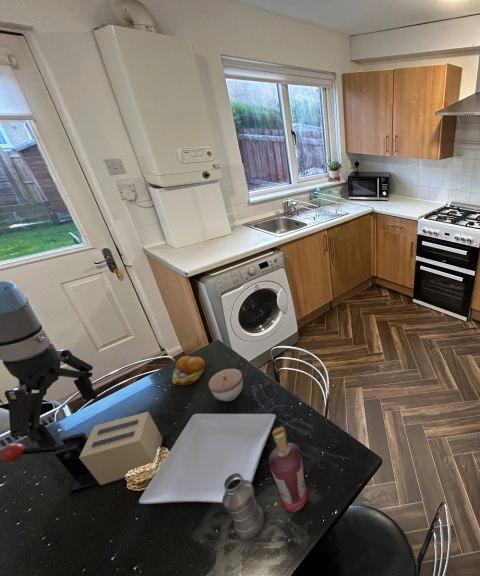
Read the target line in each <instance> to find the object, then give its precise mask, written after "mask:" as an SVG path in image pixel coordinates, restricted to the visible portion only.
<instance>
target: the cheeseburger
mask: <svg viewBox="0 0 480 576" xmlns="http://www.w3.org/2000/svg"><path fill="white" fill-rule="evenodd" d="M204 368H205V360H204V359H203V358H202V357H200V356H195V355H194V356H190V355H185V356H181V357H180V358H179V359H177V361H176V363H175V368H174V369H173V373H172V383H173V384H174V385H175V386H188V385H193V384H194V383H196V382H197V381H198V380H199V379H201V376H202V374H203V372H204Z"/></svg>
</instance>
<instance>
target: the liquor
mask: <svg viewBox="0 0 480 576" xmlns="http://www.w3.org/2000/svg"><path fill="white" fill-rule="evenodd" d="M272 437H273V441H274V442H275V445H276V446H275V448H274V449H273V450H272V451H271V453H270V454H269V457H268V465H269V468H270V472H271V473H272V477H273V480H274V481H275V484H276V486H277V490H278V491H279V494H280V496H281V499H280V503H281V507H282V508H283V510H285V511H287V512H289V513H294V512H297V511H300V510H301V509H302V508H303V507H304V506H305V504H306V503H307V502H308V499H309V491H308V488H307V487H306V483H305V476H304V465H303V458H302V451H301V448H300V447H299V445H298V444H295V443H293V442H288V440H287V433H286V429H285V427H284V426H277V427H275V428H274V429H273V431H272Z"/></svg>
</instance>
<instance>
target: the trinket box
mask: <svg viewBox="0 0 480 576" xmlns="http://www.w3.org/2000/svg"><path fill="white" fill-rule="evenodd" d="M242 374H243V373H242V372H241V370H239V369H236V368H226V369H223V370H220V371H218V372H216V374H214V375H212V376H211V378H210V379H209V381H208V388H209V390H210V392H211V394H212V396H213V397H214V398H215V399H217V400H218V401H221V402H231V401H234V400H235V399H237V398H238V397H239V395H241V393H242V392H243V388H244V380H243V379H244V378H243V375H242Z"/></svg>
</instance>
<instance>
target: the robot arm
mask: <svg viewBox="0 0 480 576" xmlns="http://www.w3.org/2000/svg"><path fill="white" fill-rule="evenodd" d="M0 361H2V364H3V366H4V367H5V369H6V370H7V372H8V373H9V374H10V375H11V376H13V378H16V379H17V380H18V385H17V386H16V387H14V388H12V389H7V390H5V391H4V392H3V393H4V396H5V398H6V400H7V403H8V419H9V420H8V421H9V433H10V437H11V438H16V437H17V438H18V437H27V438H28V440H29V441H30V442H35V443H36V444H37V446H38V447H41V448H44V447H55V446H57V445H58V442H57V441H56V440H55V438H54V437H53V435H52V434H51V433H50V431H49V430H48V429H47V427H46V426H45V424H44V423H40V421H41V414H42V408H43V401H44V397H45V396H46V395H47V393H48V389H49V388H51V386H52V385H53V384H54V383H55V382H57V381H58V380H59V377H64V378H72V379H74V380H73V383H74V385H75V388H77V390H78V392H79V394H80V395H81V397H82V399H83V400H84V401H89V400H96V399H97V398H98V395H97V393H96V391H95V389H94V387H93V382H92V381H91V379H90V378H92V377H93V372H91V371H93V369H94V367H93V365H91V364H90V363H88V362H86V361H85V360H83V359H80V358H79V357H77V356H75V355H73V353H72V351H71V350H70V349H57V348H56V347H55V345H54V344H53V343H51V339H50V338H49V336H48V334H47V333H46V330H45V329H44V327H43V325H42V324H41V322H40V320H39V318H38V317H37V316H36V314H35V311H34V310H33V308H32V306H31V304H30V302H29V299H28V297H27V296H25V294H24V293H23V291H22V290H21V289H20V287H19V286H18V285H17V284H16V283H14V282H12V281H9V280H0ZM61 363H63V364H65V365H67V366H69V367H71V368H72V369H69V368H66V367H65V368H64V367H61ZM32 391H38V392H32Z"/></svg>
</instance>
